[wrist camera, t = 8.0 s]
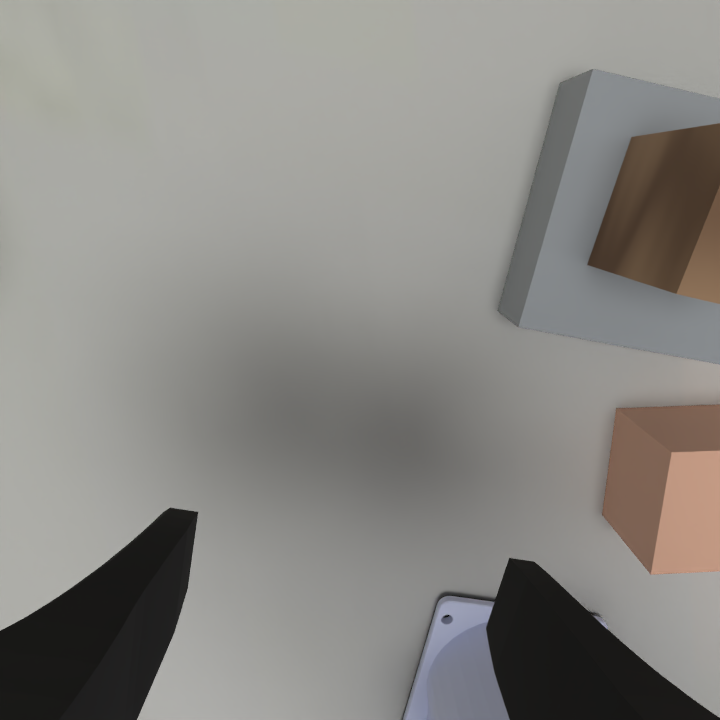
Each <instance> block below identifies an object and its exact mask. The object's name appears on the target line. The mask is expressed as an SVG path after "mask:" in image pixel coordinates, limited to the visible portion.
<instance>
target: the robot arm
mask: <svg viewBox="0 0 720 720" xmlns="http://www.w3.org/2000/svg"><path fill="white" fill-rule="evenodd" d="M197 516H198V512H194V511H188V510H181V509H174V508H169V509H168V510H166V511H164V512H163V513H162V514H161V515H160V516H159V517H158V518H157V519H156V520H155V521H154V522H153V523H152V524H151V525H149V526H148V527H147V528H146V529H145V530H144V531H143V532H142V533H141V534H139V535H138V536H137V537H136V538H135V539H134V540H133V541H131V542H130V543H129V544H128V545H127V546H125V547H124V548H123V549H122V550H121V551H119V552H118V553H117V554H116V555H115V556H113V557H112V558H111V559H110V560H108V561H107V562H106V563H105V564H103V565H102V566H101V567H99V568H98V569H97V570H95V571H94V572H93V573H91V574H90V575H89V576H87V577H86V578H84V579H83V580H82V581H80V582H79V583H78V584H76V585H75V586H74V587H72V588H71V589H69V590H68V591H66V592H65V593H63V594H62V595H60V596H59V597H57V598H56V599H54V600H53V601H51V602H50V603H48V604H47V605H45V606H43V607H42V608H40V609H38V610H37V611H35V612H34V613H32V614H30V615H29V616H27V617H25V618H24V619H22V620H20V621H18V622H16V623H14V624H12V625H11V626H9V627H7V628H5V629H3V630H1V631H0V720H137V718H138V716H139V713H140V711H141V709H142V706H143V704H144V702H145V699H146V697H147V695H148V693H149V690H150V688H151V686H152V683H153V681H154V679H155V676H156V674H157V672H158V669H159V667H160V665H161V662H162V660H163V658H164V655H165V653H166V651H167V648H168V646H169V644H170V641H171V639H172V636H173V634H174V631H175V628H176V625H177V622H178V619H179V615H180V612H181V609H182V605H183V602H184V599H185V595H186V592H187V589H188V582H189V574H190V567H191V560H192V552H193V545H194V538H195V530H196V523H197ZM445 615H450V616H449V617H447V618H443V616H445ZM403 720H720V718H719V717H717V716H716V715H714V714H713V713H712V712H710V711H709V710H707V709H706V708H704V707H703V706H702V705H700V704H699V703H697V702H696V701H695V700H693V699H692V698H691V697H689V696H688V695H687V694H685V693H684V692H683V691H681V690H680V689H679V688H677V687H676V686H675V685H673V684H672V683H671V682H669V681H668V680H667V679H665V678H664V677H663V676H662V675H660V674H659V673H658V672H657V671H655V670H654V669H653V668H652V667H650V666H649V665H648V664H647V663H646V662H644V661H643V660H642V659H641V658H640V657H639V656H637V655H636V654H635V653H634V652H633V651H631V650H630V649H629V648H628V647H627V646H626V645H624V644H623V643H622V642H621V641H620V640H619V639H618V638H617V637H615V636H614V635H613V634H612V633H611V632H610V631H609V630H608V627H607V624H606V623H605V621H604V620H603V619H602V618H601V617H598V616H592V615H591V614H590V613H589V612H588V611H587V610H586V609H585V608H584V607H583V606H582V605H581V604H580V603H579V602H578V601H577V600H576V599H574V598H573V597H572V596H571V595H570V594H569V593H568V592H567V591H566V590H565V589H564V588H563V587H562V586H561V585H560V584H559V583H558V582H557V581H555V580H554V579H553V578H552V577H551V576H550V575H549V574H548V573H547V572H546V571H545V570H543V569H542V568H541V567H540V566H539V565H537V564H536V563H535V562H532V561H525V560H519V559H512V558H509V561H508V564H507V567H506V570H505V573H504V576H503V579H502V582H501V584H500V587H499V590H498V593H497V596H496V599H495V602H491V601H484V600H477V599H470V598H463V597H456V596H445V597H443V598H441V599H440V600H439V602H438V604H437V607H436V610H435V614H434V617H433V620H432V624H431V627H430V630H429V634H428V637H427V640H426V644H425V647H424V650H423V654H422V657H421V660H420V664H419V667H418V670H417V674H416V677H415V680H414V684H413V687H412V690H411V694H410V697H409V700H408V704H407V707H406V711H405V714H404V717H403Z"/></svg>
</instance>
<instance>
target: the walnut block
mask: <svg viewBox="0 0 720 720" xmlns="http://www.w3.org/2000/svg"><path fill="white" fill-rule="evenodd" d="M587 265H589V266H592V267H595V268H598V269H601V270H604V271H607V272H610V273H613V274H616V275H619V276H623V277H626V278H629V279H632V280H635V281H638V282H641V283H644V284H647V285H650V286H653V287H656V288H659V289H662V290H666V291H669V292H672V293H675V294H678V295H683V296H687V297H691V298H696V299H700V300H704V301H709V302H713V303H717V304H720V123H717V124H711V125H705V126H698V127H692V128H686V129H679V130H673V131H667V132H660V133H654V134H647V135H641V136H635V137H631V140H630V143H629V146H628V149H627V152H626V154H625V157H624V160H623V163H622V166H621V169H620V172H619V175H618V177H617V180H616V183H615V186H614V189H613V192H612V195H611V198H610V201H609V203H608V206H607V209H606V212H605V215H604V218H603V221H602V224H601V226H600V229H599V232H598V235H597V238H596V241H595V244H594V247H593V250H592V252H591V255H590V258H589V261H588V264H587Z"/></svg>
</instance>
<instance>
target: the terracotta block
mask: <svg viewBox="0 0 720 720" xmlns="http://www.w3.org/2000/svg"><path fill="white" fill-rule="evenodd" d="M602 515H603V516H604V517H605V519H606V520H607V521H608V522H609V524H610V525H611V526H612V527H613V529H614V530H615V531H616V532H617V533H618V535H619V536H620V537H621V538H622V540H623V541H624V542H625V543H626V545H627V546H628V547H629V548H630V549H631V551H632V552H633V553H634V554H635V556H636V557H637V558H638V559H639V561H640V562H641V563H642V564H643V566H644V567H645V568H646V569H647V570H648V572H649V573H650V574H672V573H692V572H713V571H720V405H696V406H669V407H641V408H616V415H615V422H614V430H613V437H612V445H611V452H610V460H609V468H608V475H607V483H606V490H605V498H604V505H603V513H602Z"/></svg>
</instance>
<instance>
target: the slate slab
mask: <svg viewBox="0 0 720 720" xmlns="http://www.w3.org/2000/svg"><path fill="white" fill-rule="evenodd" d="M717 123H720V99H719V98H714V97H710V96H706V95H702V94H697V93H693V92H689V91H685V90H681V89H676V88H672V87H668V86H664V85H659V84H655V83H651V82H647V81H642V80H638V79H634V78H630V77H625V76H621V75H617V74H613V73H609V72H604V71H600V70H596V69H592V70H589V71H587V72H585V73H582V74H580V75H578V76H576V77H573V78H571V79H569V80H566V81H564V82H562V83H560V85H559V88H558V92H557V96H556V99H555V103H554V107H553V110H552V114H551V118H550V121H549V125H548V129H547V132H546V136H545V140H544V143H543V147H542V151H541V154H540V158H539V162H538V165H537V169H536V172H535V176H534V180H533V183H532V187H531V191H530V194H529V198H528V202H527V205H526V209H525V213H524V216H523V220H522V224H521V227H520V231H519V235H518V238H517V242H516V245H515V249H514V253H513V256H512V260H511V264H510V267H509V271H508V275H507V278H506V282H505V286H504V289H503V293H502V297H501V300H500V304H499V308H498V311H499V312H500V313H501V314H502V315H504V316H505V317H506V318H507V319H509V320H510V321H511V322H512V323H514V324H515V325H516V326H517V327H520V328H525V329H531V330H536V331H541V332H547V333H552V334H558V335H563V336H569V337H574V338H579V339H585V340H590V341H596V342H601V343H606V344H612V345H617V346H623V347H628V348H634V349H639V350H644V351H650V352H655V353H661V354H666V355H672V356H677V357H682V358H688V359H693V360H699V361H704V362H709V363H715V364H720V304H717V303H713V302H709V301H704V300H700V299H696V298H691V297H687V296H683V295H678V294H675V293H672V292H669V291H666V290H662V289H659V288H656V287H653V286H650V285H647V284H644V283H641V282H638V281H635V280H632V279H629V278H626V277H623V276H619V275H616V274H613V273H610V272H607V271H604V270H601V269H598V268H595V267H592V266H589V265H587V264H588V261H589V258H590V255H591V252H592V250H593V247H594V244H595V241H596V238H597V235H598V232H599V229H600V226H601V224H602V221H603V218H604V215H605V212H606V209H607V206H608V203H609V201H610V198H611V195H612V192H613V189H614V186H615V183H616V180H617V177H618V175H619V172H620V169H621V166H622V163H623V160H624V157H625V154H626V152H627V149H628V146H629V143H630V140H631V137H635V136H641V135H647V134H654V133H660V132H667V131H673V130H679V129H686V128H692V127H698V126H705V125H711V124H717Z"/></svg>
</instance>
